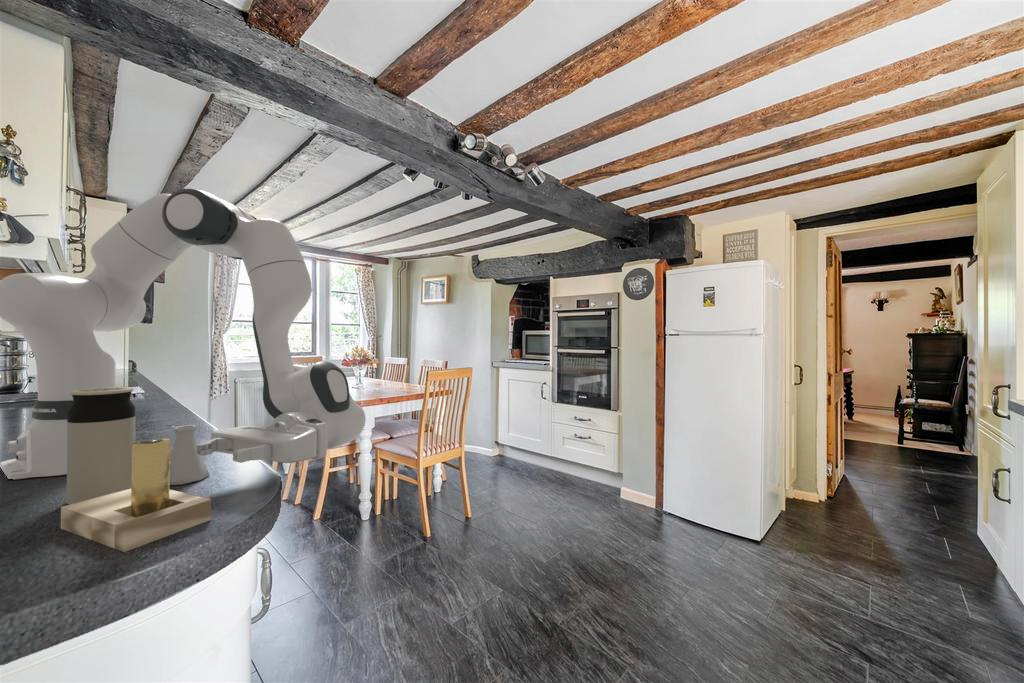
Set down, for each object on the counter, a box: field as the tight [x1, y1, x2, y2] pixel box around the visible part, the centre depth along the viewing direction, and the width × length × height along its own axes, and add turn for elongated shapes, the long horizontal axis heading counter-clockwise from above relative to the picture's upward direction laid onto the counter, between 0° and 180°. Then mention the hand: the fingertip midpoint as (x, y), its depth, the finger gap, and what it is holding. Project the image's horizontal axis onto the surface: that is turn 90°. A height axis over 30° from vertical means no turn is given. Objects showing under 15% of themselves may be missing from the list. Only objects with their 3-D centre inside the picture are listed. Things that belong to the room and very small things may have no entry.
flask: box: [170, 424, 211, 486], centre depth 77 cm, size 7×7×10 cm
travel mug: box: [66, 386, 136, 505], centre depth 68 cm, size 8×8×18 cm
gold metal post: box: [131, 438, 171, 518], centre depth 57 cm, size 4×4×12 cm
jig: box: [60, 488, 212, 553], centre depth 58 cm, size 16×10×3 cm, turn 67°
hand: (216, 453), depth 65 cm, fingers open, 8 cm apart
